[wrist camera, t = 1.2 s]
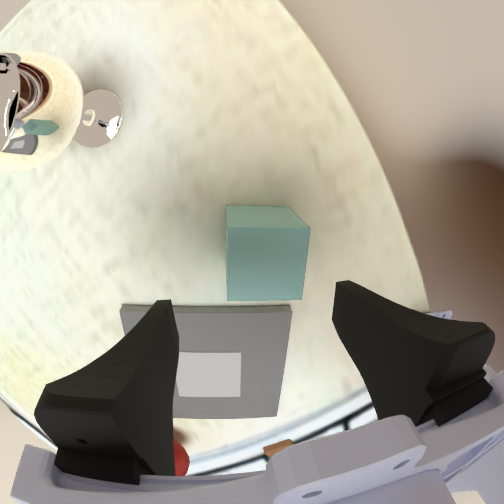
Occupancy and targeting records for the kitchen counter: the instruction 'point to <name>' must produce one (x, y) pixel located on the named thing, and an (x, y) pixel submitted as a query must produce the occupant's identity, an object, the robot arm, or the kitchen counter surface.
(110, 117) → the wineglass
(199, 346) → the tile
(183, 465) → the onion
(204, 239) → the kitchen counter surface
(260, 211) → the block
